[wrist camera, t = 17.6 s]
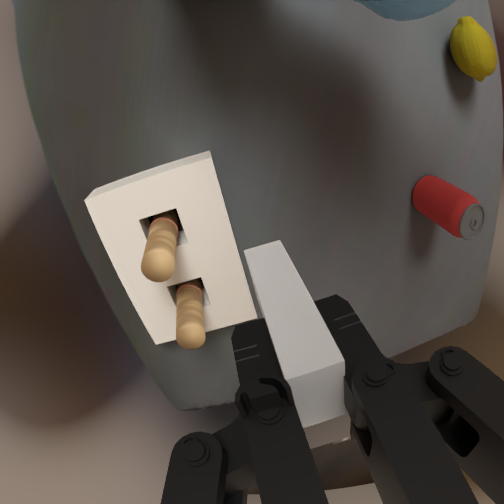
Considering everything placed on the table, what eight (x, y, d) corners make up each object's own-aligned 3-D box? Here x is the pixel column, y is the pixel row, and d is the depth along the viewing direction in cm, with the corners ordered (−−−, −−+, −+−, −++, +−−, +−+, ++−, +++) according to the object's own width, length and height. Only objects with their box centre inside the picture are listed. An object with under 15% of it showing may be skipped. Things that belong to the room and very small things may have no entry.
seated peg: (174, 201, 41) (168, 247, 30) (183, 225, 43) (180, 277, 32) (149, 209, 41) (134, 257, 30) (158, 233, 43) (147, 287, 32)
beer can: (422, 218, 49) (467, 251, 39) (403, 195, 47) (451, 226, 36) (444, 190, 48) (492, 218, 37) (427, 165, 45) (478, 190, 34)
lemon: (475, 79, 38) (509, 84, 31) (445, 79, 38) (481, 84, 31) (465, 20, 33) (498, 19, 26) (433, 16, 33) (468, 12, 26)
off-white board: (209, 150, 39) (211, 157, 35) (252, 299, 51) (257, 317, 47) (94, 189, 38) (84, 200, 34) (157, 325, 50) (155, 344, 46)
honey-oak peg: (197, 264, 46) (200, 323, 35) (204, 284, 48) (210, 345, 37) (173, 271, 46) (170, 331, 35) (181, 290, 48) (181, 352, 37)
